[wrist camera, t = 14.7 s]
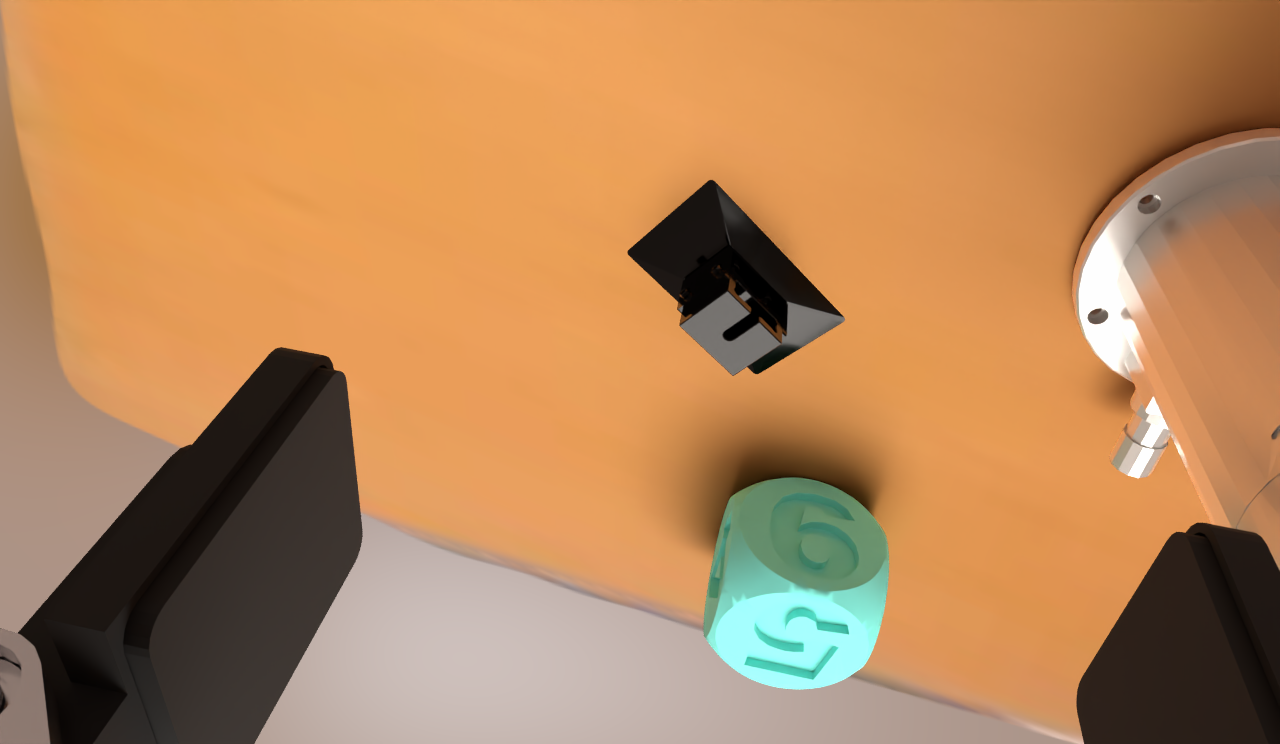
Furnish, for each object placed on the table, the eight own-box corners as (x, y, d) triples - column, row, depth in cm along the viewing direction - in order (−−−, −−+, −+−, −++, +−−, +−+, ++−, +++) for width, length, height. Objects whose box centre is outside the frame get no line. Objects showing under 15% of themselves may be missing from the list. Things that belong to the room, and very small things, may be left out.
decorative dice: (709, 558, 57) (697, 672, 50) (739, 461, 52) (729, 574, 45) (842, 586, 57) (846, 705, 50) (884, 492, 52) (895, 610, 45)
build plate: (877, 325, 46) (883, 383, 42) (761, 398, 50) (757, 458, 46) (703, 141, 42) (693, 188, 38) (590, 236, 45) (570, 287, 42)
